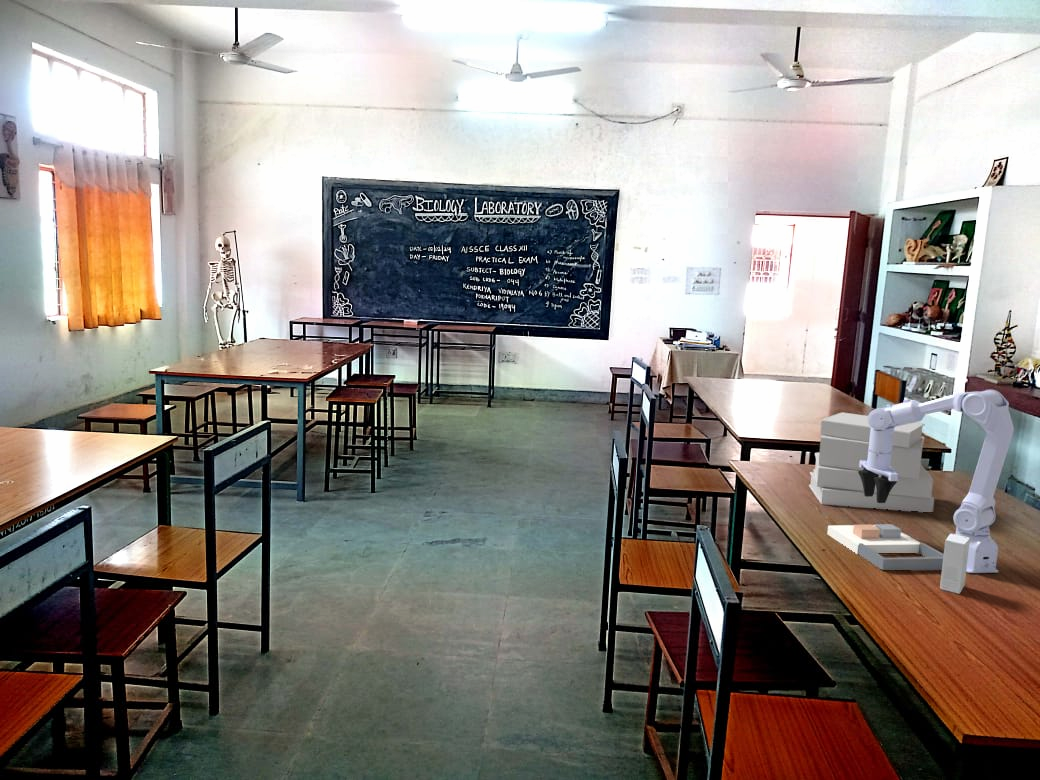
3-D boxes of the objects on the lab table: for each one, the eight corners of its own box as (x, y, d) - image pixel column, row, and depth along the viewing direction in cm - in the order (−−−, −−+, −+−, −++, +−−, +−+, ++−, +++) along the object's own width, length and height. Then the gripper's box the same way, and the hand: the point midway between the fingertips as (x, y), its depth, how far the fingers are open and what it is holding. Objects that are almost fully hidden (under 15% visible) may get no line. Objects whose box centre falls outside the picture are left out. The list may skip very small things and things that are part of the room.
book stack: (942, 518, 225) (952, 434, 221) (819, 508, 231) (827, 427, 227) (910, 490, 254) (918, 416, 250) (802, 482, 260) (808, 409, 256)
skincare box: (944, 581, 177) (950, 532, 175) (964, 586, 175) (971, 537, 173) (938, 589, 173) (944, 539, 171) (959, 594, 170) (966, 544, 168)
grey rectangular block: (900, 538, 199) (901, 529, 198) (882, 538, 198) (883, 529, 198) (891, 533, 203) (892, 524, 202) (873, 533, 202) (874, 524, 202)
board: (922, 553, 195) (923, 544, 195) (857, 554, 193) (858, 545, 193) (887, 533, 210) (888, 524, 209) (827, 534, 208) (828, 525, 207)
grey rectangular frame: (949, 569, 184) (950, 558, 184) (882, 571, 182) (883, 559, 182) (921, 553, 195) (922, 542, 194) (857, 554, 193) (859, 543, 192)
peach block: (878, 538, 198) (879, 529, 198) (861, 538, 197) (862, 529, 197) (870, 533, 202) (871, 524, 201) (852, 533, 201) (853, 524, 201)
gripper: (910, 457, 197) (904, 507, 199) (877, 445, 211) (872, 491, 214) (885, 458, 196) (880, 507, 198) (854, 445, 210) (849, 491, 213)
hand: (874, 499), depth 206 cm, fingers open, 5 cm apart
